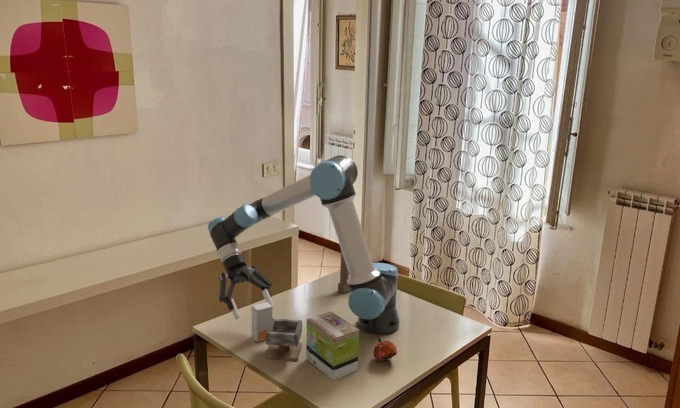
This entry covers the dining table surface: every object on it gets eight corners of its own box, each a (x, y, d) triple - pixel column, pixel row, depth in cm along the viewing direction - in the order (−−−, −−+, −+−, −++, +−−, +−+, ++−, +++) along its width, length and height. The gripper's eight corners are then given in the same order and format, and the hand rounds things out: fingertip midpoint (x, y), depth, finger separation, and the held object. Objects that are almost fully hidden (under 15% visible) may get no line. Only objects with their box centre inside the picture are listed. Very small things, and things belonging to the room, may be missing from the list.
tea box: (304, 359, 177) (305, 317, 173) (329, 350, 183) (331, 309, 179) (332, 381, 166) (334, 337, 162) (358, 371, 171) (360, 328, 168)
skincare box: (256, 342, 186) (256, 310, 183) (251, 337, 190) (251, 305, 186) (272, 338, 189) (273, 306, 186) (267, 333, 193) (267, 301, 190)
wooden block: (361, 287, 234) (363, 247, 229) (343, 294, 226) (345, 252, 222) (355, 284, 236) (357, 244, 232) (337, 291, 229) (338, 250, 224)
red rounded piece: (399, 368, 178) (389, 340, 183) (403, 360, 172) (393, 331, 177) (377, 373, 176) (368, 344, 181) (381, 365, 170) (371, 335, 176)
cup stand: (301, 344, 186) (302, 320, 184) (297, 360, 176) (297, 335, 174) (271, 342, 186) (271, 318, 184) (265, 358, 177) (265, 333, 174)
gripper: (257, 256, 207) (280, 306, 200) (196, 270, 191) (219, 326, 184) (265, 246, 202) (289, 298, 195) (203, 261, 186) (226, 318, 179)
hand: (255, 312), depth 189 cm, fingers open, 13 cm apart
